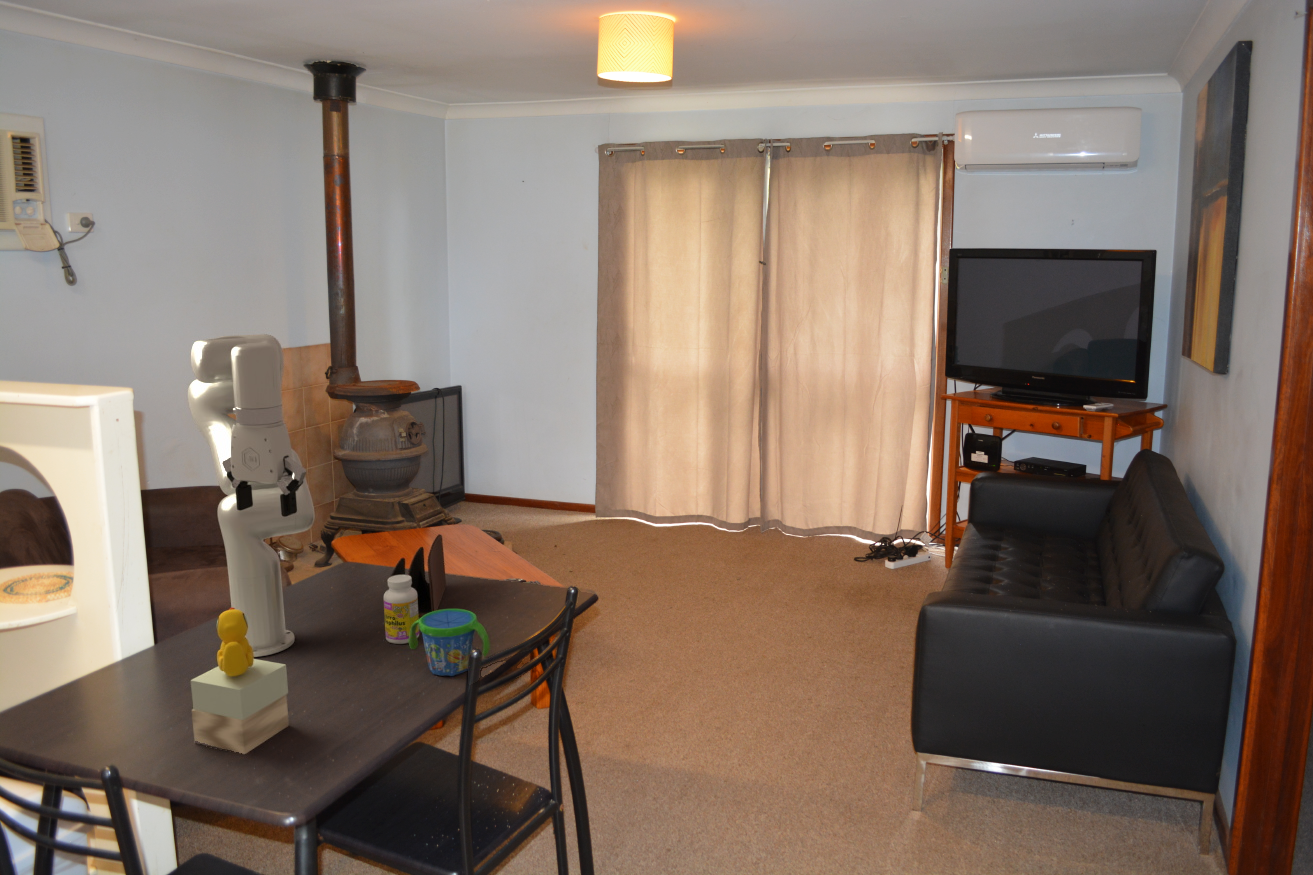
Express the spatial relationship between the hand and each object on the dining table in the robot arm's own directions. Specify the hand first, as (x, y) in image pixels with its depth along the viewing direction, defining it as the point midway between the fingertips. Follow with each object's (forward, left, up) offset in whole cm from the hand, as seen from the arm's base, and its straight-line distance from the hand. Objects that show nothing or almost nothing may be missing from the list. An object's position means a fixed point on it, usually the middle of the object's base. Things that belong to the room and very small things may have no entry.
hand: (267, 511), depth 170 cm
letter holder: (0, +45, -33) cm, 56 cm away
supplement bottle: (+9, +25, -33) cm, 42 cm away
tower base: (+7, -17, -33) cm, 38 cm away
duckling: (+7, -17, -22) cm, 28 cm away
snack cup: (+26, +15, -33) cm, 44 cm away
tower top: (+7, -17, -27) cm, 33 cm away
